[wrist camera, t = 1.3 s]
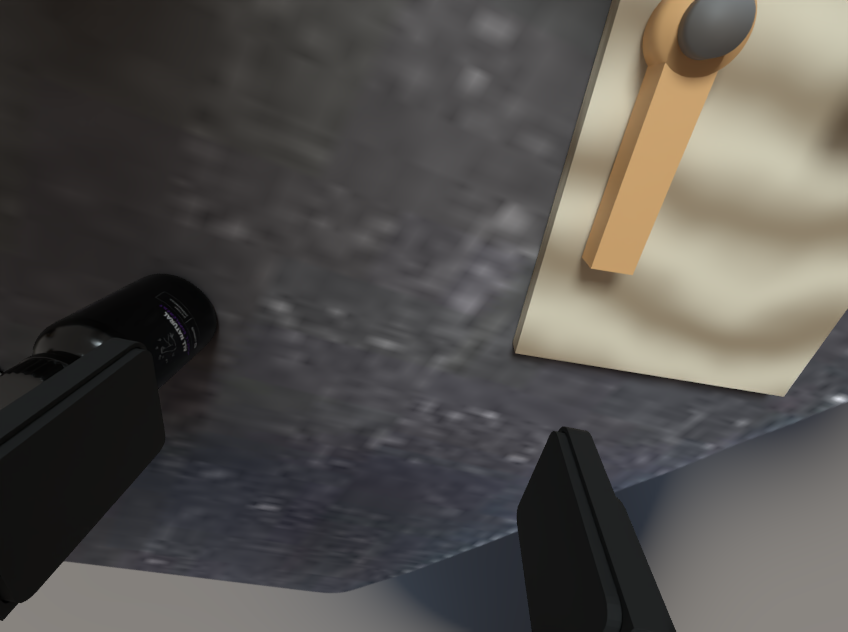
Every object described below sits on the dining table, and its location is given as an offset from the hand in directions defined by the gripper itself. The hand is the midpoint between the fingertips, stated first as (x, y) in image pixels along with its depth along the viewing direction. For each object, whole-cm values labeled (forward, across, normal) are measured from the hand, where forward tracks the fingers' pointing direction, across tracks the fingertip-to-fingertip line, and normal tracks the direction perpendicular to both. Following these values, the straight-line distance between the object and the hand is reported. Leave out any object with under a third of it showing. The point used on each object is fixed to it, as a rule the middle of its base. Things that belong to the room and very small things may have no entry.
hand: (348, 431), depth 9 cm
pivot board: (+20, -18, -5) cm, 27 cm away
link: (+18, -12, -7) cm, 23 cm away
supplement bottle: (+20, +18, +11) cm, 29 cm away
